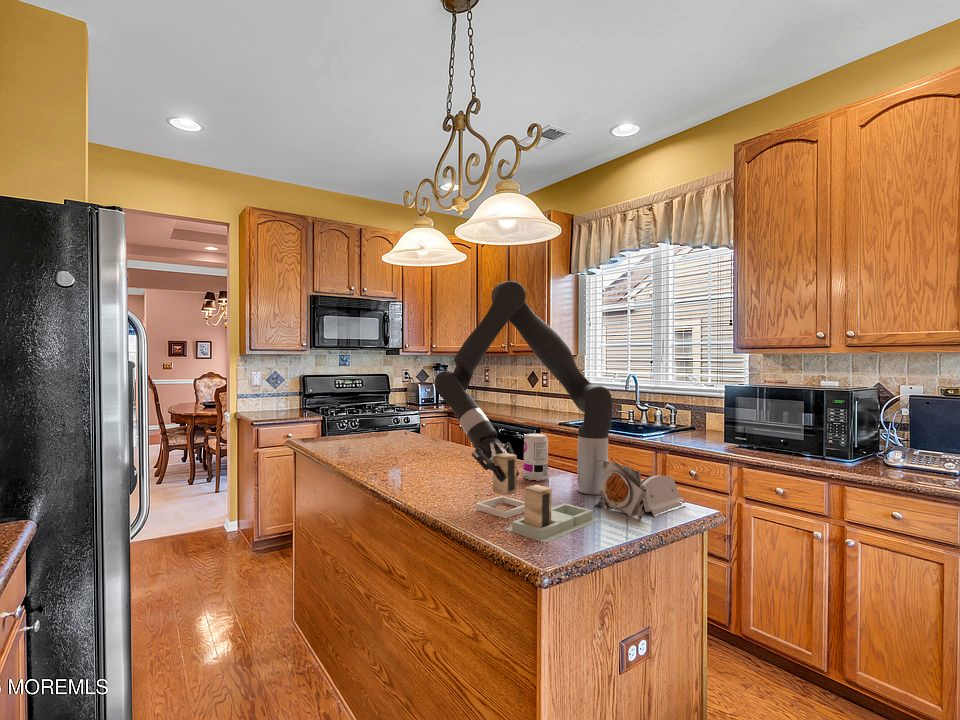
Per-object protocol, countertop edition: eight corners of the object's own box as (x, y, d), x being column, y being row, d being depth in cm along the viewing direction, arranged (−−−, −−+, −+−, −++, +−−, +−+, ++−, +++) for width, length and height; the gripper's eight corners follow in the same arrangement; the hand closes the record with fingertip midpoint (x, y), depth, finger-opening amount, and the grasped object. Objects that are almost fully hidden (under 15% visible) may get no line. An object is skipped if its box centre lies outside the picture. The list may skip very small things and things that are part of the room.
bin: (502, 504, 142) (502, 495, 142) (531, 513, 134) (531, 504, 134) (475, 512, 134) (475, 503, 134) (505, 522, 127) (505, 512, 127)
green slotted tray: (560, 512, 136) (561, 501, 136) (600, 523, 127) (600, 511, 127) (504, 533, 119) (504, 520, 119) (545, 547, 111) (545, 533, 111)
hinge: (654, 517, 133) (643, 479, 135) (639, 518, 136) (629, 481, 139) (687, 506, 143) (676, 470, 146) (672, 507, 147) (662, 473, 149)
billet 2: (535, 525, 122) (536, 484, 122) (551, 530, 118) (552, 488, 118) (524, 530, 118) (524, 487, 118) (539, 535, 115) (540, 491, 115)
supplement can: (521, 480, 170) (521, 436, 170) (526, 474, 178) (527, 432, 178) (545, 482, 168) (545, 437, 168) (549, 476, 176) (549, 433, 176)
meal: (591, 507, 141) (592, 460, 140) (601, 505, 143) (602, 459, 143) (636, 522, 128) (637, 471, 128) (646, 519, 131) (647, 469, 131)
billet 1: (504, 489, 138) (504, 452, 138) (517, 492, 134) (517, 455, 134) (492, 492, 134) (492, 455, 134) (505, 495, 131) (505, 457, 131)
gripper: (466, 422, 134) (499, 474, 126) (502, 417, 145) (535, 465, 136) (452, 439, 138) (484, 491, 130) (488, 433, 148) (520, 481, 140)
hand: (510, 478), depth 133 cm, fingers closed on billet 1, 4 cm apart
